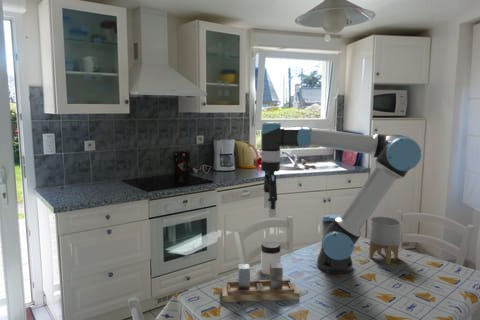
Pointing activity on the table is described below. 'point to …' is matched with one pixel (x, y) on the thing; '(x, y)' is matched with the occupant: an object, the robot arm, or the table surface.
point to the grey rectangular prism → (243, 277)
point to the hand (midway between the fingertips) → (269, 211)
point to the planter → (384, 236)
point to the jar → (269, 255)
